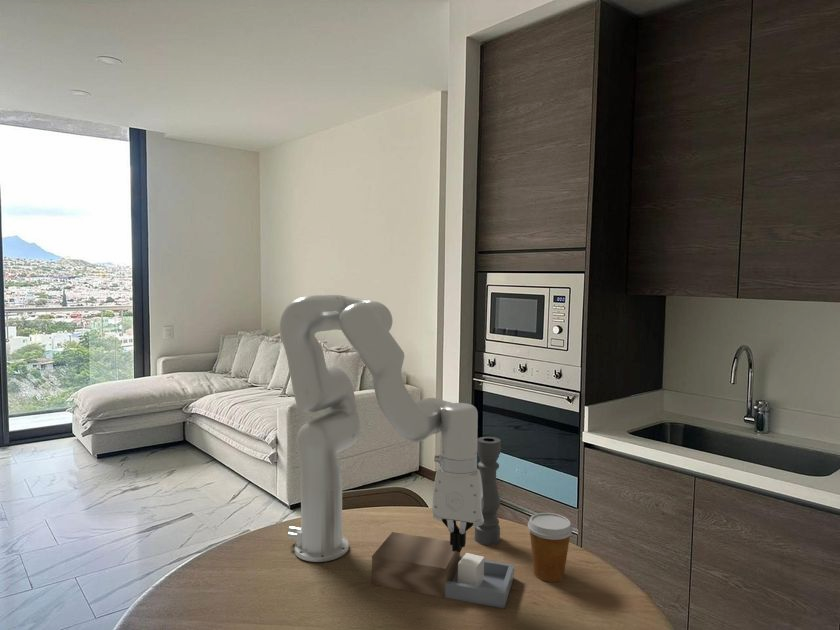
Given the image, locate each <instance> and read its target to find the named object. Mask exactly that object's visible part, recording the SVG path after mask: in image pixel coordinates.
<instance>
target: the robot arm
mask: <svg viewBox="0 0 840 630" xmlns="http://www.w3.org/2000/svg"><path fill="white" fill-rule="evenodd" d="M279 321H280V322H279V333H280V338H281V340H282V345H283V347H284V352H285V354H286V360H287V365H288V371H289V377H290V383H291V386H292V391H293V397H294V401H295V403H296V406H297V408H298V409H299V410H300V411H302V412H304V413H309V414H311V413H316V412H319V411H320V412H321V411H323V414H322V415H319V416H316V417H315V418H312V419H311V420H308V421H306V422H305V423H304V424H303V425H302V426H301V427H300V428H299V430H298V432H297V435H296V440H295V441H296V442H295V443H296V450H297V454H298V458H299V459H298V460H299V465H300V466H299V469H300V510H301V511H300V512H301V513H300V514H301V515H300V519H301V520H300V527H299V526H295V525H290V526H289V527H288V531H287V538H288V539H290V540H291V539H292V540H293V539H294V540H296V543H295V545H294V554H295V555H296V557H298V558H299V559H300V560H303V561H306V562H311V563H322V562H330V561H333V560H336V559H339V558H341V557H343V556H344V555H345V554H347V552H348V551H349V548H350V547H349V540H348V539H347V538H346V537H345V536H343V474H342V467H341V465H340V463H339V461H338V455H337V454H339V453H340V452H341V451H345V450H346V449H348V448H350V447H351V446H353V445H354V444H355V443H356V442H357V440H359V436H360V433H361V422H360V416H359V410H358V407H357V402H356V401H357V400H356V396H355V391H354V388H353V387H354V386H353V383H352V381H351V379H350V377H349V376H348V374H347V373H346V372H345V371H344V370H343V369H342V368H339V367H336V366H328V367H327V363H326V359H325V353H324V349H323V346H322V345H321V343H320V342H319V341H318V339H317V337H316V335H315V334H317V333H320V332H327V331H337V330H338V331H342V333H343V335H344V336H345V339H347V341H348V342H349V344H350V345H351V346H352V348H353V350H354V351H355V352H356V354H357V355H358V356H359V358H360V359H361V361H362V362H363V364H364V366H365V367H366V368H367V370H368V371H369V373H370V374H371V376H372V383H373V389H374V392H375V397H376V400H377V404H378V406H379V408H380V410H381V412H382V414H383V415H384V416H385V418H386V419H387V421H388V422H389V424H390V425H391V427H392V429H394V431H395V432H396V433H397V434H398V435H399V436H400V437H401V438H402V439H403V440H405V441H406V442H409V443H421V442H422V441H425V440H426V439H427V438H430V437H431V436H433V435H436V434H439V433H441V434H440V454H438V455H434V459H433V461H434V462H435V463H438V464H439V467H437V468H436V472H435V478H434V483H433V493H432V504H431V506H432V508H431V509H432V518H433V520H437V521H440V522H442V523H443V524H444V526H445V527H446V528H447V531H448V532H449V533H450V534H449V541H450V545H452V551H454V552H455V551H457V552H460V553H461V552H462V549H463V548H465V547H466V541H467V540H466V537H467V531H468V530H469V529H471V528H472V527H475V526H481V525H482V524H483V522H484V519H483V515H482V513H483V489H482V480H481V474H480V468H478V453H477V439H478V428H479V426H478V424H479V423H478V420H479V419H478V418H479V415H478V414H479V412H478V409H477V407H476V406H474V405H473V404H470V403H467V402H466V403H465V402H451V401H448V400H447V401H446V400H444V399H439V398H437V397H426V398H422V399H421V400H419V401H415V399H414V398H413V397H412V395H411V394H410V393H409V391H408V389H407V387H406V386H405V383H404V381H403V379H404V378H403V373H402V368H403V364H404V361H405V352H404V350H403V349H402V348H401V346H400V345H399V344H398V342H397V341H396V339H395V337H393V335H392V334H391V332H390V331H391V329H392V326H393V316H392V313H391V311H390V310H389V308H388V307H387V306H386V305H385V304H383V303H381V302H379V301H374V300H369V299H363V298H362V299H361V298H358V297H357V298H356V297H353V296H346V295H341V294H326V295H324V294H323V295H322V294H320V295H319V294H317V295H316V294H315V295H306V296H301V297H299V298H296V299H294V300H293V301H292V302H290V303H289V304H288V305H287V306H286V307H285V309H284V310H283V312H282V315H281V317H280V320H279ZM458 522H460V525H459V526H458Z"/></svg>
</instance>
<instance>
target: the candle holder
mask: <svg viewBox="0 0 840 630" xmlns="http://www.w3.org/2000/svg"><path fill="white" fill-rule="evenodd" d="M501 445H502V444H501V439H500V438H498V437H495V436H482V437H477V457H478V458H479V462H477V468H478V469H479V470H480V474H481V480H482V489H483V513H482V515H483V519H484V522H483V524H482V525H481V526H474V541H475V542H476V543H477V544H480V545H483V546H495V545H497V544H499V543H500V541H501V526H500V520H499V518H498V517H497V512H498V510H499V509H500V507H501V499H500V494H499V491H498V485H497V470H498V469H499V468H500V463H498V462H497V461H498V459H499V458H500V454H501Z"/></svg>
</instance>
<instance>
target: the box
mask: <svg viewBox="0 0 840 630" xmlns="http://www.w3.org/2000/svg"><path fill="white" fill-rule="evenodd" d="M463 556H464V555H460V556H459V561H460V560H461V559H462V558H463ZM514 579H515V564H514V563H513V564H512V563H508V562H500V561H495V560H489V559H484V580H483V582H482V583H481V585H480V586H474V585H468V584H462V583H458V571H457V573H456V575H455V577H454V579H453V581H452V582H451V581H446V583H445V597H444V598H445V599H451V600H456V601H463V602H467V603H472V604H478V605H484V606H488V607H494V608H499V609H503V610H505V608H506V605H507V602H508V599H509V596H510V592H511V589H512V586H513V582H514Z"/></svg>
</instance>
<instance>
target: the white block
mask: <svg viewBox="0 0 840 630" xmlns="http://www.w3.org/2000/svg"><path fill="white" fill-rule="evenodd" d="M462 556H463V558H462V559H461V560H460V561H459V563H458V583H462V584H468V585H474V586H480V585H481V583H482V582H483V580H484V560H485V556H482V555H478V554H473V553H469V552H465V554H464V555H462Z"/></svg>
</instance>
